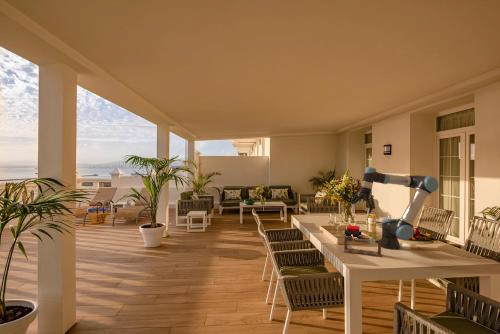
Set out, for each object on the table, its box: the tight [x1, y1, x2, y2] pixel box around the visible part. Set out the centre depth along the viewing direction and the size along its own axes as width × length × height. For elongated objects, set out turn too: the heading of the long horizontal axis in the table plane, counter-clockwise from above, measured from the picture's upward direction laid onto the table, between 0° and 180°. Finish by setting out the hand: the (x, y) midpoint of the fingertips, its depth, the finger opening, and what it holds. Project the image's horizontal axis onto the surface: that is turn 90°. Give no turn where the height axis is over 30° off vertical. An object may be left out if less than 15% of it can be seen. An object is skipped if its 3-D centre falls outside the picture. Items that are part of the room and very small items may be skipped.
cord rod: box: [347, 236, 378, 244], centre depth 226 cm, size 24×3×3 cm, turn 67°
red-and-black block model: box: [344, 224, 363, 239], centre depth 271 cm, size 15×8×25 cm
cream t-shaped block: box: [368, 230, 376, 246], centre depth 223 cm, size 4×4×10 cm
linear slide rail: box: [343, 235, 382, 258], centre depth 226 cm, size 26×8×12 cm, turn 67°
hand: (359, 214), depth 224 cm, fingers open, 13 cm apart
